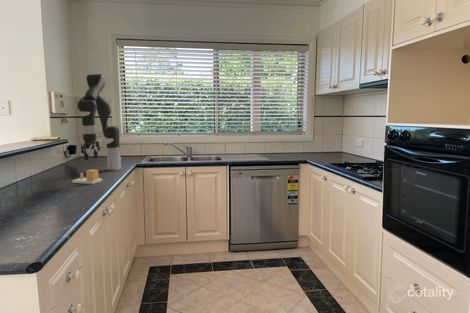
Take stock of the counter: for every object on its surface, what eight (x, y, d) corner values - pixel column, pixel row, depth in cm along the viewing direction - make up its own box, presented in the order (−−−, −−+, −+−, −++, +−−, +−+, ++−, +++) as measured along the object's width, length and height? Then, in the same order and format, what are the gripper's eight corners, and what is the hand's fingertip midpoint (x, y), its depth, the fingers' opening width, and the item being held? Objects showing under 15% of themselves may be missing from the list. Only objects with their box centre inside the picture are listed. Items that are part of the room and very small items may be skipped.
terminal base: (82, 179, 209) (81, 171, 209) (102, 180, 206) (101, 172, 205) (72, 182, 201) (71, 174, 200) (92, 183, 197) (92, 175, 196)
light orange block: (91, 178, 205) (91, 169, 204) (98, 179, 204) (98, 169, 203) (86, 180, 200) (85, 170, 199) (93, 180, 199) (92, 171, 198)
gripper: (91, 132, 206) (93, 157, 208) (75, 133, 192) (78, 160, 194) (102, 132, 204) (103, 157, 206) (86, 133, 190) (88, 160, 193)
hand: (91, 158), depth 200 cm, fingers open, 8 cm apart
